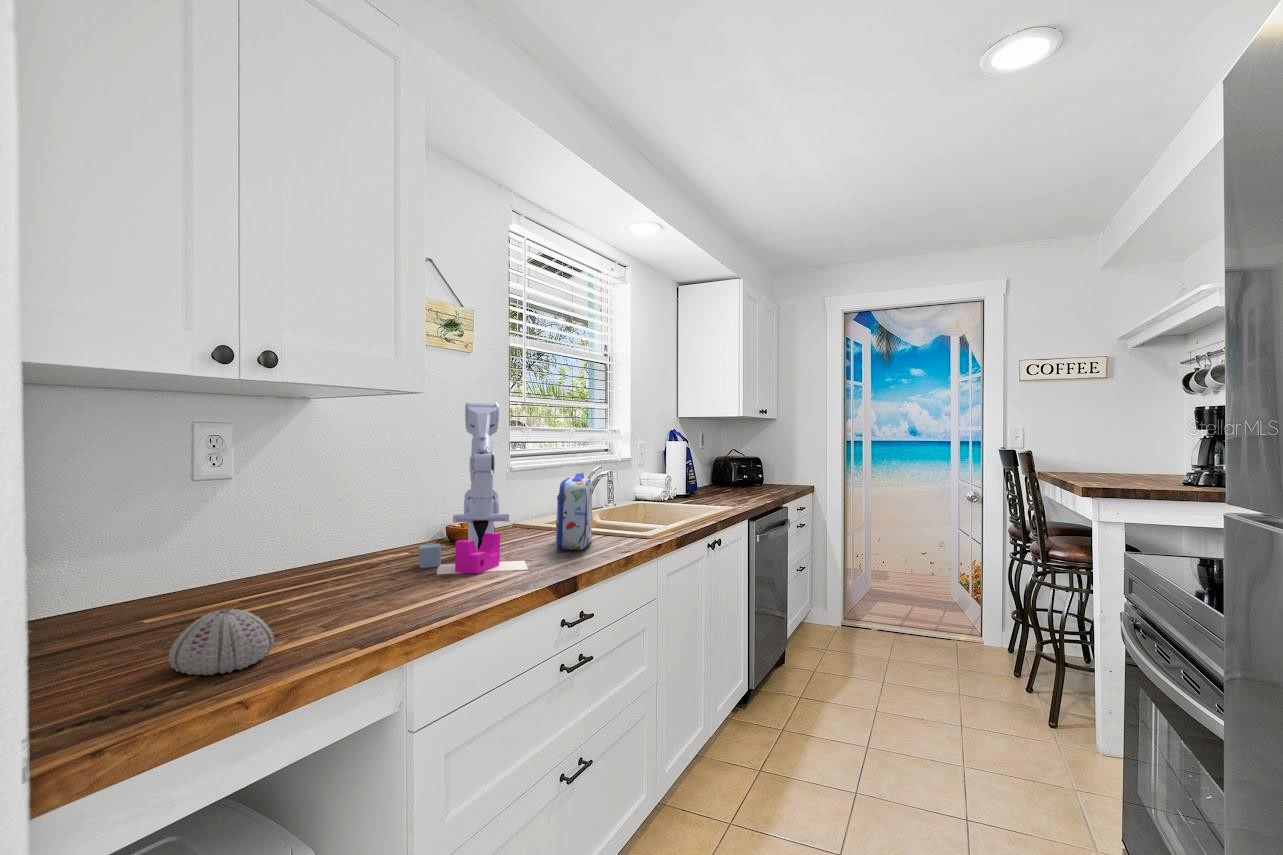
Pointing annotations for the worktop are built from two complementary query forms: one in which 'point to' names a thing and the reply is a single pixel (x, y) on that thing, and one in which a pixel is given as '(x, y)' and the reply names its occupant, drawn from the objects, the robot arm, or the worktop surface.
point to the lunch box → (574, 513)
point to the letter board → (502, 567)
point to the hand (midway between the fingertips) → (480, 549)
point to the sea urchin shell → (221, 643)
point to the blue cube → (429, 555)
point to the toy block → (477, 554)
